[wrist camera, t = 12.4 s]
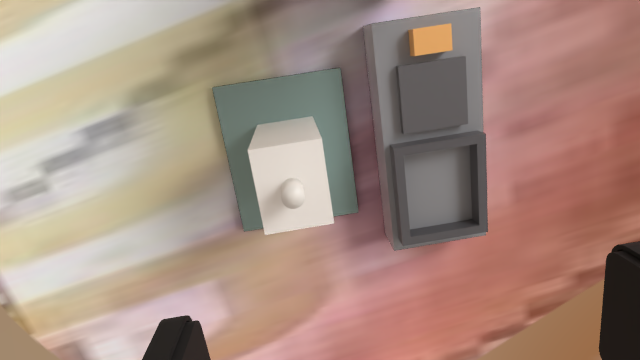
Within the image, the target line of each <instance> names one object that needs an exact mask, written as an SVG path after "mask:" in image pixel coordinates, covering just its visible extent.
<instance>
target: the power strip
mask: <svg viewBox="0 0 640 360" xmlns="http://www.w3.org/2000/svg"><path fill="white" fill-rule="evenodd" d="M363 32H364V41H365V51H366V60H367V69H368V79H369V88H370V97H371V107H372V116H373V126H374V135H375V144H376V154H377V163H378V172H379V182H380V191H381V201H382V210H383V219H384V229H385V235H386V236H387V238H388V240H389V242H390V244H391V246H392V247H393V249H394V251H396V250H401V249H407V248H413V247H419V246H425V245H431V244H437V243H442V242H448V241H454V240H460V239H466V238H472V237H478V236H483V235H486V232H488V217H487V173H486V134H485V133H483V99H482V58H481V17H480V7H478V8H471V9H465V10H458V11H451V12H445V13H438V14H432V15H425V16H419V17H412V18H405V19H399V20H392V21H386V22H379V23H372V24H369V25H366V26H363Z"/></svg>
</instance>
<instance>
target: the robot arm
mask: <svg viewBox="0 0 640 360" xmlns="http://www.w3.org/2000/svg"><path fill="white" fill-rule="evenodd" d="M599 352H600V356H601V358H602V360H640V241H639V242H633V243H626V244H620V245H617V246H615V247H614V248H613V249H612V253H609V254H608V256H607V259H606V269H605V281H604V294H603V306H602V318H601V332H600V343H599ZM142 360H210V356H209V352H208V349H207V345H206V342H205V338H204V334H203V331H202V327H201V324H200V322H199V321H192V319H191V318H190V316H188V315H187V316H180V317H174V318H168V319H163V320H161V322H160V323H159V325H158V327H157V330H156V332H155V334H154V336H153V338H152V340H151V342H150V344H149V346H148V348H147V350H146V352H145V355H144V357H143V359H142Z"/></svg>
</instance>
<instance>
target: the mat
mask: <svg viewBox="0 0 640 360" xmlns="http://www.w3.org/2000/svg"><path fill="white" fill-rule="evenodd" d="M212 89H213V94H214V98H215V103H216V107H217V112H218V116H219V121H220V125H221V130H222V134H223V139H224V143H225V148H226V152H227V157H228V161H229V166H230V170H231V175H232V179H233V184H234V188H235V193H236V197H237V202H238V206H239V211H240V215H241V220H242V224H243V229H244V231H250V230H256V229H262V228H263V223H262V218H261V213H260V208H259V203H258V198H257V194H256V189H255V184H254V179H253V174H252V169H251V164H250V159H249V155H248V148H249V145H250V143H251V140H252V138H253V135H254V132H255V130H256V127H257V125H260V124H266V123H273V122H279V121H285V120H292V119H298V118H304V117H310V116H313V119H314V121H315V123H316V126H317V128H318V130H319V133H320V135H321V138H322V143H323V150H324V156H325V163H326V170H327V177H328V184H329V191H330V197H331V204H332V211H333V217H334V216H340V215H346V214H352V213H358V204H357V196H356V188H355V180H354V172H353V164H352V156H351V148H350V140H349V133H348V125H347V117H346V109H345V101H344V93H343V85H342V77H341V69H340V68H334V69H327V70H321V71H315V72H308V73H302V74H295V75H289V76H282V77H276V78H269V79H263V80H257V81H250V82H244V83H237V84H231V85H224V86H218V87H213V88H212Z"/></svg>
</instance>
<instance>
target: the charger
mask: <svg viewBox="0 0 640 360" xmlns="http://www.w3.org/2000/svg"><path fill="white" fill-rule="evenodd" d="M248 155H249V159H250V164H251V169H252V174H253V179H254V184H255V189H256V194H257V198H258V203H259V208H260V213H261V218H262V223H263V228H264V233H265V235H268V234H274V233H280V232H286V231H292V230H298V229H304V228H310V227H316V226H322V225H328V224H334V218H333V211H332V204H331V197H330V191H329V184H328V177H327V170H326V163H325V156H324V150H323V143H322V138H321V135H320V133H319V130H318V128H317V126H316V123H315V121H314V119H313V116H310V117H304V118H298V119H292V120H285V121H279V122H273V123H266V124H260V125H257V127H256V130H255V132H254V135H253V138H252V140H251V143H250V145H249V148H248Z"/></svg>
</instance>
